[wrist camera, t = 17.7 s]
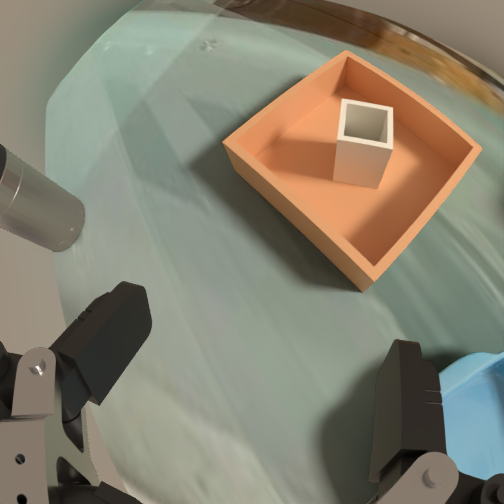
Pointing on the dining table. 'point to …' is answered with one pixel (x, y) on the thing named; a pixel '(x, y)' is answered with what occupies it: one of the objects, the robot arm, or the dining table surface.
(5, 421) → the robot arm
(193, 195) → the dining table surface
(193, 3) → the dining table surface
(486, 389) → the casserole dish
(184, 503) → the dining table surface
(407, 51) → the dining table surface
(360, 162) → the small crate
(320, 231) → the large crate
